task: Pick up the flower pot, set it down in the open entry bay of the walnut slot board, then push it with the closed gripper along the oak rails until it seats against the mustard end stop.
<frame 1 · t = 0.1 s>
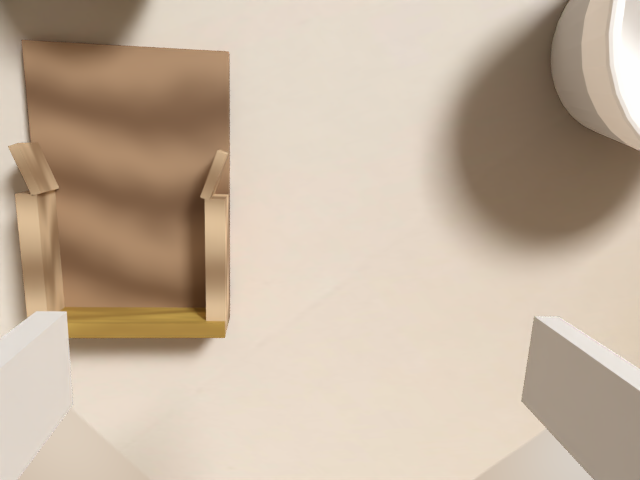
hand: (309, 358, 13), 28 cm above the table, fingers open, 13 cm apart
bowl: (627, 51, 41), on the table
slot board: (137, 190, 39), on the table
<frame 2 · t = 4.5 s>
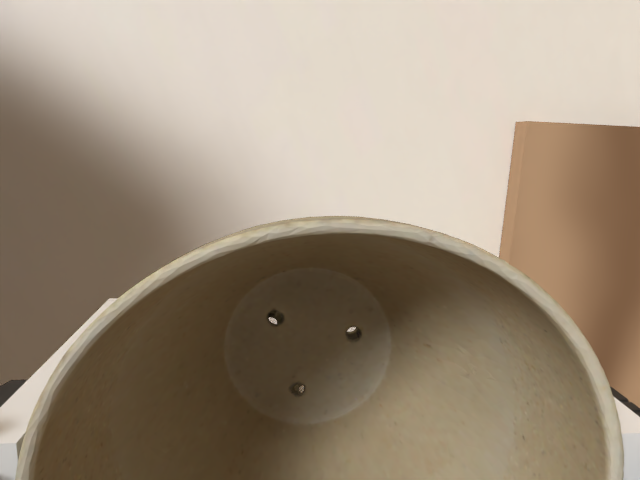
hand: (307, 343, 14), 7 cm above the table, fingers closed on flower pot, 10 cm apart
flower pot: (308, 335, 15), point 6 cm above the table, touching gripper
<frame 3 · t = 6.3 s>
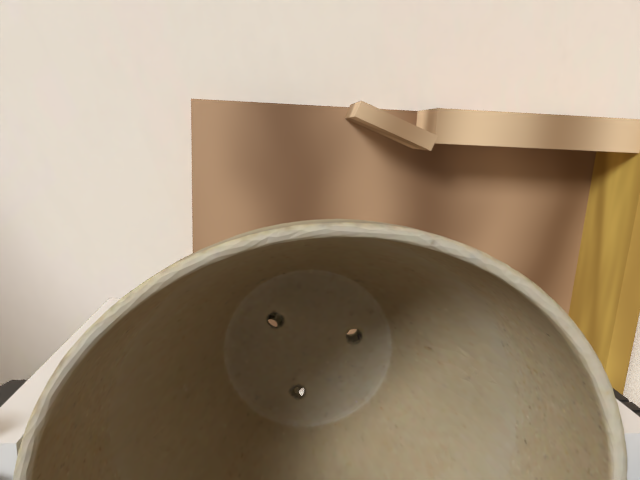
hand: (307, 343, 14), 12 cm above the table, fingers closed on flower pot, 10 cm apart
slot board: (399, 252, 26), on the table
flower pot: (308, 338, 15), point 11 cm above the table, touching gripper
when the fingers open (2 cm above the table, at t = 8.3 s): flower pot drops 1 cm, resting on slot board.
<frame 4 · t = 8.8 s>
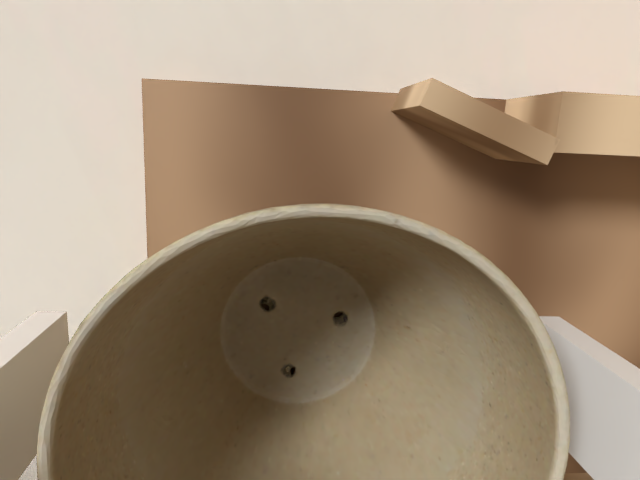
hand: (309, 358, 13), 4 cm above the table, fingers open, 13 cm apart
slot board: (466, 314, 17), on the table
flower pot: (298, 321, 16), point 1 cm above the table, touching slot board
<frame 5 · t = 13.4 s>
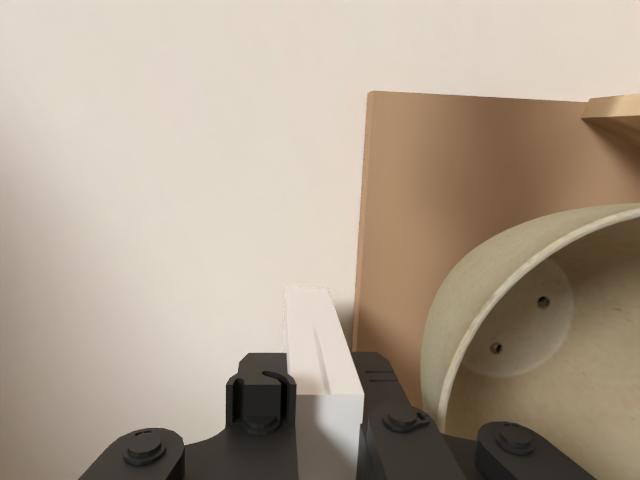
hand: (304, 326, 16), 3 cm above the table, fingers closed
slot board: (620, 298, 19), on the table
flower pot: (500, 305, 18), point 1 cm above the table, touching gripper
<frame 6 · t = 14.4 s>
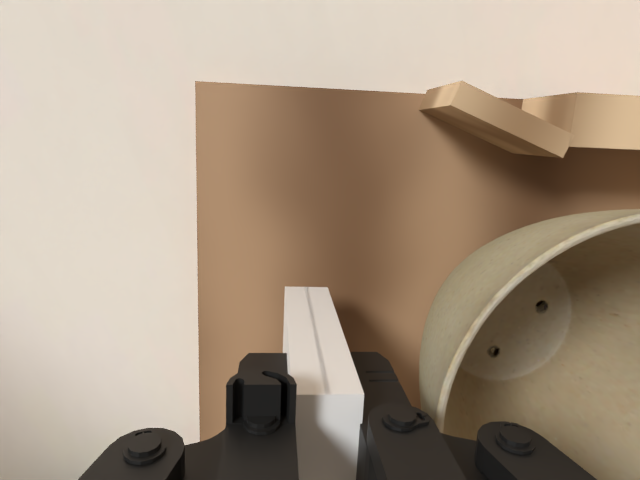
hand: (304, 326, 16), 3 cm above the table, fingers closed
slot board: (484, 296, 19), on the table
flower pot: (498, 308, 18), point 1 cm above the table, touching gripper
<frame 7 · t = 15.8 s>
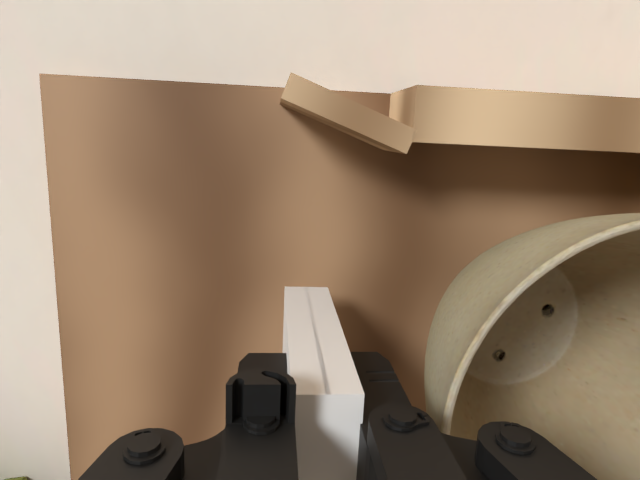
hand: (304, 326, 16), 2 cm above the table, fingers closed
slot board: (369, 299, 18), on the table
flower pot: (504, 312, 18), point 1 cm above the table, touching gripper, slot board
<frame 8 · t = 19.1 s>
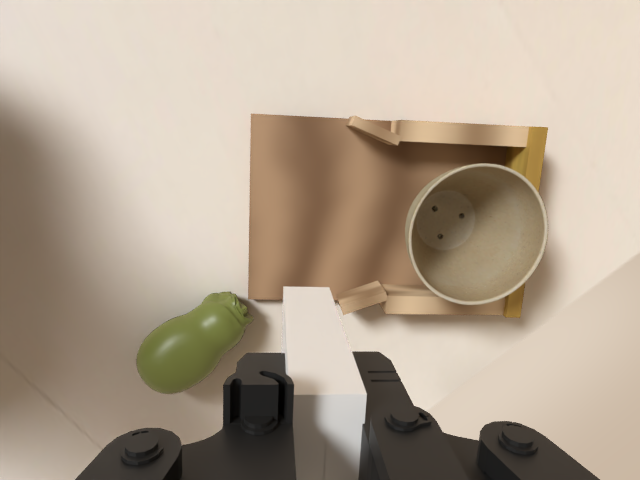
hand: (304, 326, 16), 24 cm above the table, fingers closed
slot board: (381, 212, 40), on the table
flower pot: (443, 218, 40), point 1 cm above the table, touching slot board
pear: (201, 328, 41), on the table
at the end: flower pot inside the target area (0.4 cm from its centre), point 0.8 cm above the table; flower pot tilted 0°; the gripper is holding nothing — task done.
